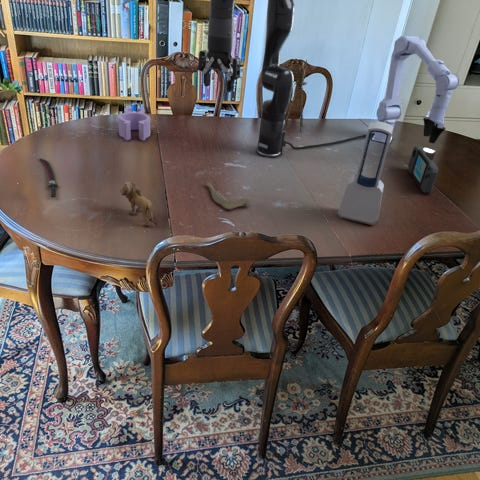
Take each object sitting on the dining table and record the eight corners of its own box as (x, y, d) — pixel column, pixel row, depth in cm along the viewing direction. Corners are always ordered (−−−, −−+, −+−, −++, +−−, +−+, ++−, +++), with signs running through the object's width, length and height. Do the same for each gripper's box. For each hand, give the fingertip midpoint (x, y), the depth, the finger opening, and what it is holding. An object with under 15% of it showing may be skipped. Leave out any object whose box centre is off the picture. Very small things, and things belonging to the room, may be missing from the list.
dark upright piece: (301, 132, 210) (312, 62, 194) (282, 129, 211) (292, 60, 195) (302, 125, 218) (314, 58, 201) (285, 123, 219) (294, 56, 202)
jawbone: (235, 216, 142) (236, 211, 141) (188, 193, 152) (187, 188, 151) (254, 205, 147) (254, 199, 146) (207, 183, 158) (207, 178, 157)
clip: (120, 122, 199) (119, 106, 195) (149, 123, 202) (149, 107, 198) (118, 140, 183) (117, 123, 179) (151, 140, 185) (150, 123, 181)
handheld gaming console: (406, 168, 186) (413, 144, 180) (412, 169, 186) (420, 145, 180) (423, 194, 166) (432, 168, 161) (430, 195, 166) (439, 169, 161)
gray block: (421, 158, 197) (425, 147, 195) (432, 161, 195) (435, 151, 192) (417, 160, 195) (421, 149, 192) (428, 164, 192) (431, 153, 190)
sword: (61, 197, 141) (61, 193, 140) (50, 198, 139) (50, 194, 139) (49, 160, 164) (48, 156, 163) (39, 160, 163) (39, 157, 162)
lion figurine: (118, 210, 138) (116, 182, 133) (132, 204, 141) (131, 177, 137) (151, 229, 130) (150, 201, 126) (165, 223, 134) (165, 195, 129)
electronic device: (378, 217, 149) (404, 126, 133) (375, 228, 143) (403, 134, 127) (339, 207, 152) (360, 117, 136) (335, 218, 146) (357, 125, 130)
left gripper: (247, 36, 138) (243, 91, 147) (208, 28, 144) (206, 81, 153) (233, 39, 133) (229, 96, 142) (193, 31, 139) (192, 86, 148)
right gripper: (424, 99, 188) (414, 132, 195) (435, 110, 176) (424, 144, 183) (441, 101, 188) (431, 133, 195) (453, 112, 176) (442, 146, 183)
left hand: (217, 88), depth 147 cm, fingers open, 8 cm apart
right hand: (428, 139), depth 189 cm, fingers open, 7 cm apart
